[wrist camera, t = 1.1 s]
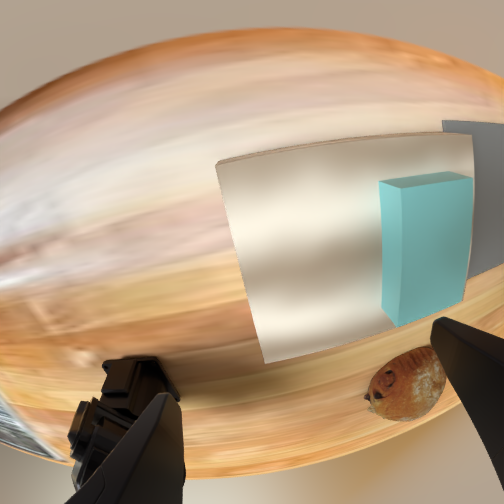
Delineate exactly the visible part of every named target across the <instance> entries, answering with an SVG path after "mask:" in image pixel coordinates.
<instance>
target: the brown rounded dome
mask: <svg viewBox="0 0 504 504" xmlns="http://www.w3.org/2000/svg"><path fill="white" fill-rule="evenodd" d="M445 383H446V374H445V372H444V370H443V367H442V365H441V363H440V361H439V359H438V357H437V355H436V353H435V351H434V350H433V349H430V348H426V347H419V348H416V349H414V350H411V351H409V352H406V353H404V354H402V355H400V356H397V357H396V358H394V359H393V360H391V361H390V362H388V363H387V364H386V365H385V366H383V367H382V368H381V369H380V370H379V371H378V372H377V373H376V374H375V376H374V377H373V378H372V380H371V383H370V386H369V388H368V393H367V395H365V396H364V399H366V400H368V401H370V403H371V406H370V407H369V408H368V411H370V412H373V413H376V414H377V415H379V416H382V418H383V419H385V418H386V419H389V420H394V421H412V420H415V419H417V418H420V417H422V416H424V415H425V414H426V413H428V412H429V411H430V410H431V408H432V407H433V406H434V405H435V404H436V402H437V401H438V399H439V397H440V396H441V394H442V392H443V389H444V387H445Z"/></svg>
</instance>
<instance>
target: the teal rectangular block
mask: <svg viewBox="0 0 504 504" xmlns="http://www.w3.org/2000/svg"><path fill="white" fill-rule="evenodd" d="M378 183H379V195H380V208H381V226H382V302H381V308H382V309H383V310H384V312H385V313H386V314H387V315H388V317H389V318H390V319H391V321H392V322H393V323H394V325H395V326H396V327H400V326H403V325H405V324H408V323H411V322H413V321H416V320H418V319H421V318H424V317H426V316H429V315H431V314H433V313H436V312H438V311H441V310H443V309H445V308H448V307H450V306H452V305H455V304H457V303H459V302H461V300H462V295H463V290H464V285H465V279H466V273H467V266H468V259H469V251H470V241H471V230H472V213H473V178H472V177H468V176H465V175H461V174H458V173H454V172H450V171H446V172H438V173H430V174H423V175H415V176H408V177H401V178H395V179H388V180H382V181H378Z"/></svg>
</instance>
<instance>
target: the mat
mask: <svg viewBox="0 0 504 504" xmlns="http://www.w3.org/2000/svg"><path fill="white" fill-rule="evenodd" d="M442 125H443V132H446V133H458V134H469V135H472V142H473V155H474V182H475V194H474V221H473V235H472V245H471V254H470V261H469V268H468V275H467V279H469V278H471V277H474V276H476V275H478V274H480V273H483V272H485V271H487V270H489V269H491V268H494V267H496V266H498V265H500V264H502V263H504V124H495V123H484V122H470V121H445V120H442Z"/></svg>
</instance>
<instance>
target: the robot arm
mask: <svg viewBox="0 0 504 504" xmlns="http://www.w3.org/2000/svg"><path fill="white" fill-rule="evenodd" d="M430 341H431V345H432V347H433V349H434V351H435V353H436V355H437V357H438V359H439V361H440V363H441V365H442V367H443V370H444V372H445V374H446V376H447V378H448V379H449V381H450V383H451V385H452V386H453V388H454V390H455V391H456V393H457V395H458V397H459V398H460V400H461V402H462V403H463V405H464V407H465V409H466V411H467V412H468V414H469V416H470V418H471V420H472V422H473V424H474V426H475V428H476V430H477V432H478V434H479V436H480V438H481V439H482V442H483V444H484V446H485V448H486V450H487V452H488V454H489V457H490V459H492V460H491V461H492V464H493V466H494V468H495V471H496V473H497V475H498V478H499V480H500V483H501V485H502V488H503V490H504V339H502V338H500V337H497V336H495V335H492V334H489V333H487V332H484V331H481V330H479V329H476V328H473V327H471V326H468V325H466V324H463V323H460V322H458V321H455V320H452V319H450V318H447V317H441V318H438V319H436V320H435V321H434V322H433V326H432V331H431V336H430ZM154 362H155V363H154ZM102 368H103V369H104V371H105V372H106V374H107V377H106V380H105V382H104V384H103V387H102V389H101V392H102V396H101V398H100V401H98V399H96V398H95V397H93V398H92V399H91V401H90V402H88V401H87V402H86V401H81V402H80V403H79V406H78V408H77V411H76V413H75V415H74V418H73V421H72V424H71V427H70V430H69V433H68V436H67V437H68V439H69V441H70V443H71V446H70V449H71V452H70V457H71V458H73V459H75V460H76V462H75V465H74V468H73V471H72V475H71V476H72V480H73V484H74V487H75V490H76V493H75V494H74V495H73V496H72V497H71V498H70V499H69V500H68V501H67V502H66V503H64V504H182V499H183V498H182V497H183V486H184V483H185V478H186V469H185V462H184V443H183V429H182V412H181V408H180V406H179V405H178V403H177V402H179V401H180V395H179V394H178V392H177V390H176V389H175V387H174V385H173V384H172V382H171V380H170V379H169V377H168V375H167V374H166V372H165V370H164V368H163V367H162V365H161V363H160V361H159V360H158V359H157V358H156V357H147V358H137V359H127V360H115V361H104V362H103V364H102Z"/></svg>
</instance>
